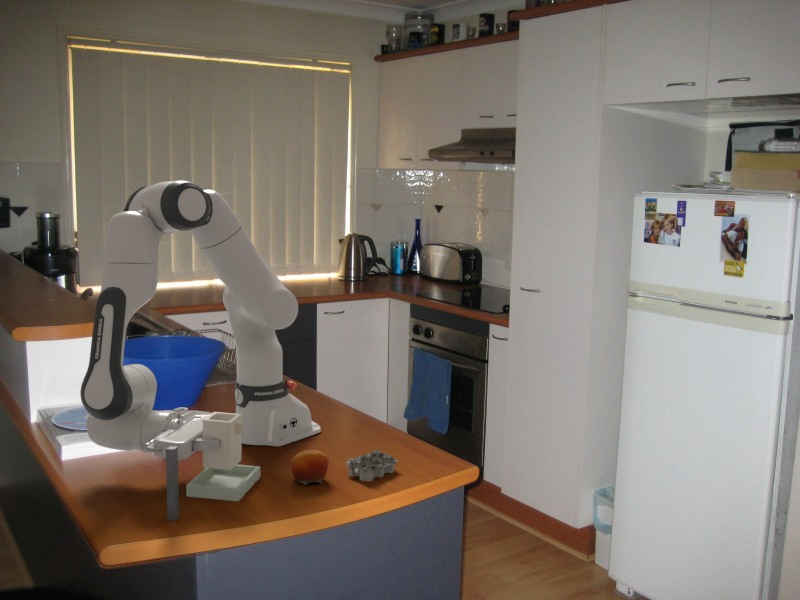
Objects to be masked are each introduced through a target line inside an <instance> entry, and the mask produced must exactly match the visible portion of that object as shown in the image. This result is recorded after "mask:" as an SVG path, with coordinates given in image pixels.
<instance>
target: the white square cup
mask: <svg viewBox="0 0 800 600" xmlns="http://www.w3.org/2000/svg"><path fill="white" fill-rule="evenodd" d="M211 413H212V414H210V415H209V416H208V417H206V418H205V419H203V440H204V439H212V438H215V439H220V440H221V446H220V447H219V448H218V449H217V450H215V449H208V450H202V468H204V469H205V468H215V469H225V470H231V469H232V468H233V467H234V466H236V465H239V463H240V462H241V461H242V449H243V448H242V447H243V446H242V414H235V413H236V412H235V413H233V412H223V411H213V412H211Z"/></svg>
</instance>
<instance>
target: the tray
mask: <svg viewBox="0 0 800 600" xmlns="http://www.w3.org/2000/svg"><path fill="white" fill-rule="evenodd" d="M260 478H261V466H260V465H258V466H257V465H246V464H237V465H236V466H234V467H233V468H232V469H231V470H225V469H215V468H205V467H204V469H202V471H200V472H199V473H198V474H197V475H196V476H195V477H193V479H191V480H190V481H189V482H188V483H187V484H186V485H185V486H186V489H185V491H186V493H185V494H186V497H188V498H189V497H190V498H197V499H199V498H200V499H209V500H221V501H229V502H230V501H231V502H239V501H240V500H241V499H243V497H244V496H245V495H246V494H247V493H246V492H249V490H250V489H251V488H252V487H253V486H254V485H255V484H256V483H257V482H258V481H259V480H260ZM255 482H256V483H255ZM245 493H246V494H245Z"/></svg>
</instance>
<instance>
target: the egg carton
mask: <svg viewBox="0 0 800 600" xmlns="http://www.w3.org/2000/svg"><path fill="white" fill-rule="evenodd" d="M398 462H399V459H398V458H397V459H394V456H393V455H391V456H390V455H389V454H387V453H385V452H382V451H381V450H380V449H375V450H374V451H372V452H370V453H367V454H365V453H364V454H362V455H360V456H357V457H355V458H354V457H353V458H352V457H351V458H348V459H347V460H346V462H345V464H344V465H345V466H348V477H349V476H351V477H350V478H353V477H352V476H358V477H357V478H359V477H360V478H359V481H360V480H362V481H364V480H365V481H364V482H367V481H366V480H369V481H370V482H372V481H371V480H373V481H374V478H383V477H385V474H394V473H395V468H396V467H395V466H396V465H397V464H398ZM393 472H394V473H393ZM384 473H385V474H384ZM362 481H361V482H362ZM369 481H368V482H369Z"/></svg>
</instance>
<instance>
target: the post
mask: <svg viewBox="0 0 800 600" xmlns="http://www.w3.org/2000/svg"><path fill="white" fill-rule="evenodd" d="M165 468H166V469H165V473H166V474H165V475H166V509H167V512H166V514H167V521H174V522H176V521H177V520H178V519H179V518H180V497H179V496H180V495H179V492H180V489H179V488H180V487H179V460H178V447H175V446H169V447H168V448H166V458H165Z"/></svg>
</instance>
